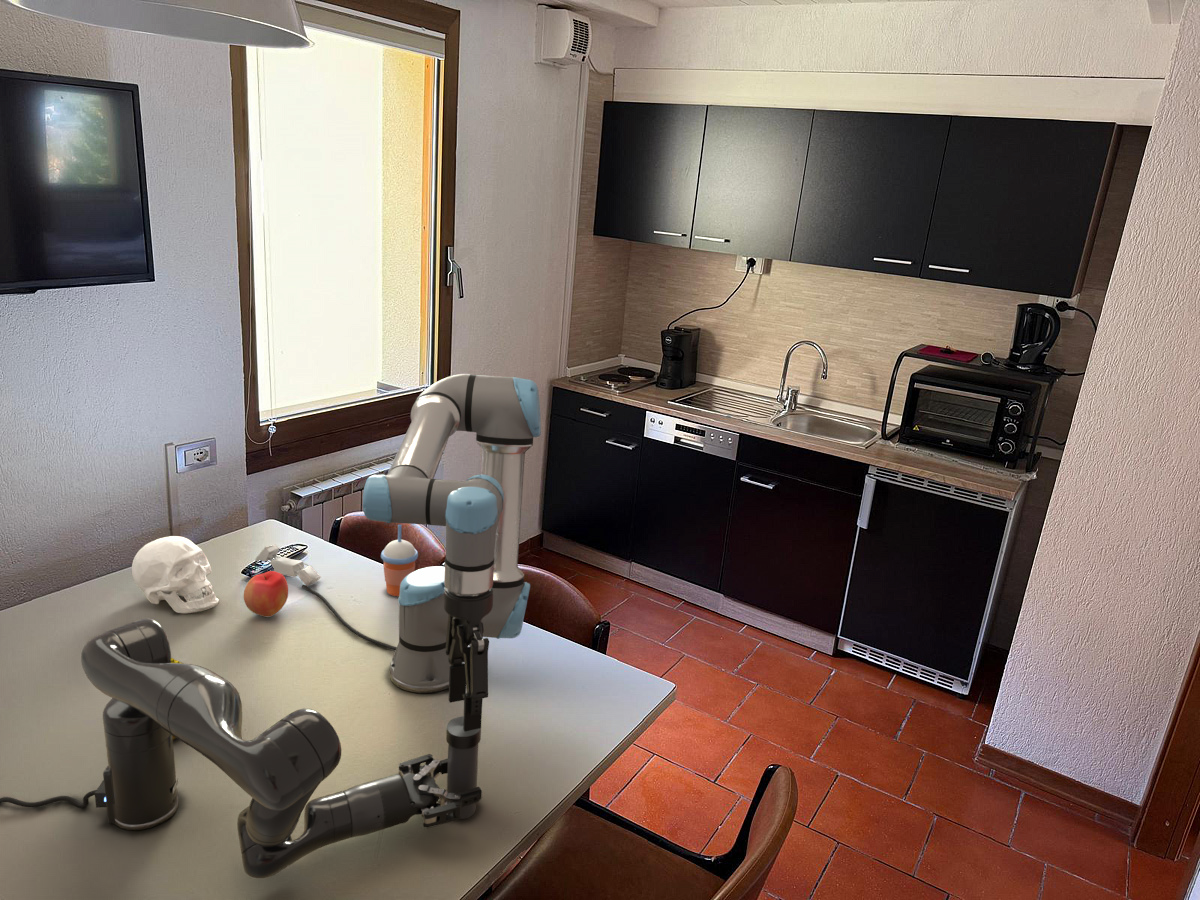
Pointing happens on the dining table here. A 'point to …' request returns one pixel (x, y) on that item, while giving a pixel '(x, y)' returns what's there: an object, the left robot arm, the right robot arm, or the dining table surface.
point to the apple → (266, 593)
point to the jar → (462, 775)
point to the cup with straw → (398, 562)
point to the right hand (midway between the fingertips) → (464, 713)
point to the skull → (174, 574)
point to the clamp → (288, 565)
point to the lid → (461, 735)
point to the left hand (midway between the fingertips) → (471, 777)
